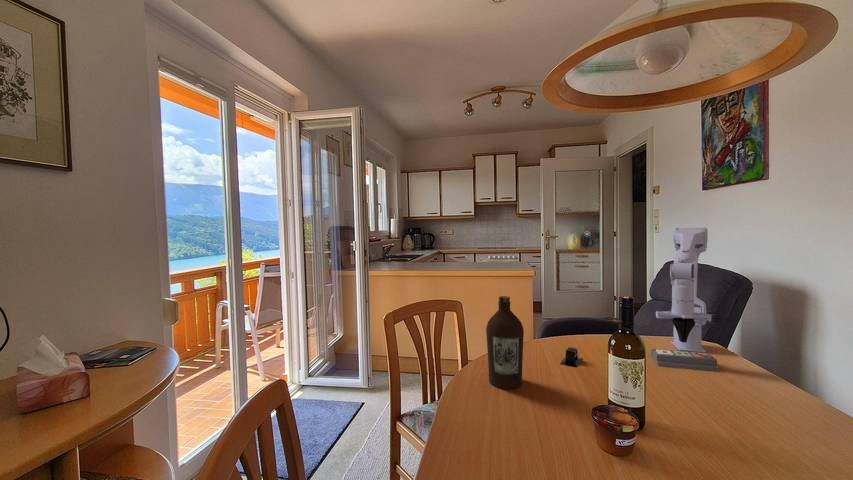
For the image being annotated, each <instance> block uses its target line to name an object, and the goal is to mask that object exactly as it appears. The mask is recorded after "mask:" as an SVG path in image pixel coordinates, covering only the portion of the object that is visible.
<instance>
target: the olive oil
mask: <svg viewBox="0 0 853 480" xmlns="http://www.w3.org/2000/svg"><path fill="white" fill-rule="evenodd" d="M524 331H525V330H524V326H523V323H522V321H521V320H520V319H519V317H517V315H515V313H514V312H513V311H512V310H511V297H510V296H508V295H500V296H498V310H497V311H496V312H495V313H494V314H493V315H492V316H491V317H490V318H489V320H488V322H487V324H486V328H485V333H486V348H487V364H488V365H487V366H488V381H489V384H491V386H494V387H495V388H499V389H502V390H503V389H504V390H513V389H517V388H519V387H521V385H523V354H524V353H523V352H524V336H525V335H524V334H525V333H524Z"/></svg>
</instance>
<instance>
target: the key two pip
mask: <svg viewBox="0 0 853 480" xmlns="http://www.w3.org/2000/svg"><path fill="white" fill-rule="evenodd" d="M688 352H689V351H687V352H681V350H674V351H673V353H675V354H676V355H677V356H685V357H693V356H692V355H690V354H689V353H688Z"/></svg>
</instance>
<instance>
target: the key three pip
mask: <svg viewBox="0 0 853 480" xmlns="http://www.w3.org/2000/svg"><path fill="white" fill-rule="evenodd" d="M690 352H691V354H692V355H694V356H695V357H697V358H709V359H712V358H711V357H710V356H709V355H707V354H706V353H707V352H700V353H694V351H690Z"/></svg>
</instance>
